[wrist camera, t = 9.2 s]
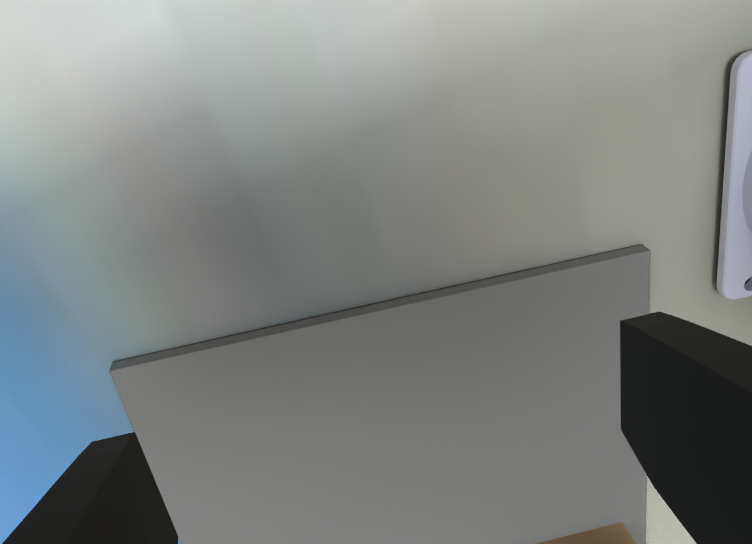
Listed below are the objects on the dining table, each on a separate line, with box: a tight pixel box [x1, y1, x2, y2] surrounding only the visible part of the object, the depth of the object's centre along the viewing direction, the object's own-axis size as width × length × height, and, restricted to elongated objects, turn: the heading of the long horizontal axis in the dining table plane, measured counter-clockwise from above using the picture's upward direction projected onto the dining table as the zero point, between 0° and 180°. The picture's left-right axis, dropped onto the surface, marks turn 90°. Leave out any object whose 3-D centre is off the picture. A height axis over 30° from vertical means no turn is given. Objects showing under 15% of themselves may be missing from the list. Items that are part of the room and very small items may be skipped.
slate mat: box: [109, 245, 650, 544], centre depth 25 cm, size 17×19×1 cm
